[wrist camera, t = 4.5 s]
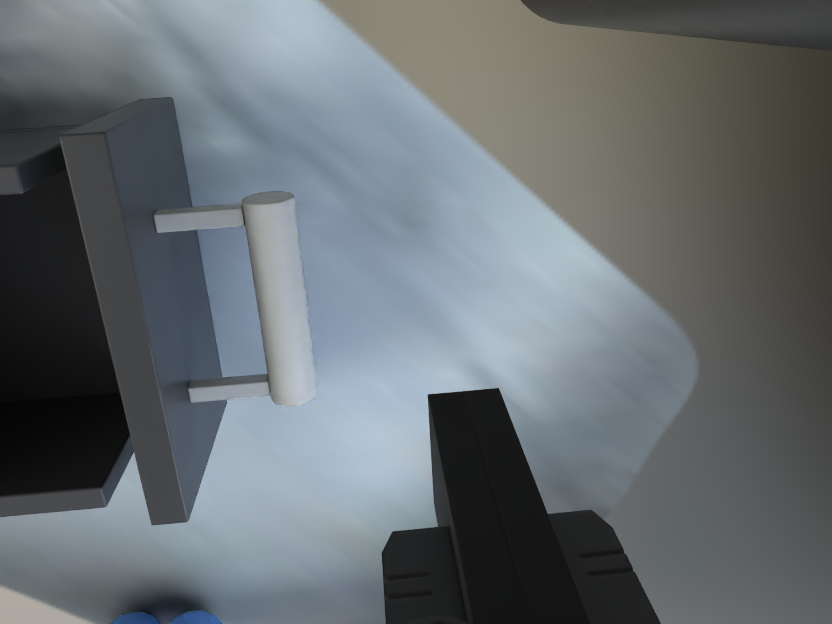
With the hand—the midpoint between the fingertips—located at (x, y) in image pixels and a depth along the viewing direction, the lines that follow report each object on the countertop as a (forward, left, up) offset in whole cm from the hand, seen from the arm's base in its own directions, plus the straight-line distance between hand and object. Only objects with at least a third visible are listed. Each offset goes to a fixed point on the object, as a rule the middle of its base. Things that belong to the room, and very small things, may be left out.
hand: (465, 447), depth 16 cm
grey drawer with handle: (+13, 0, -14) cm, 20 cm away
